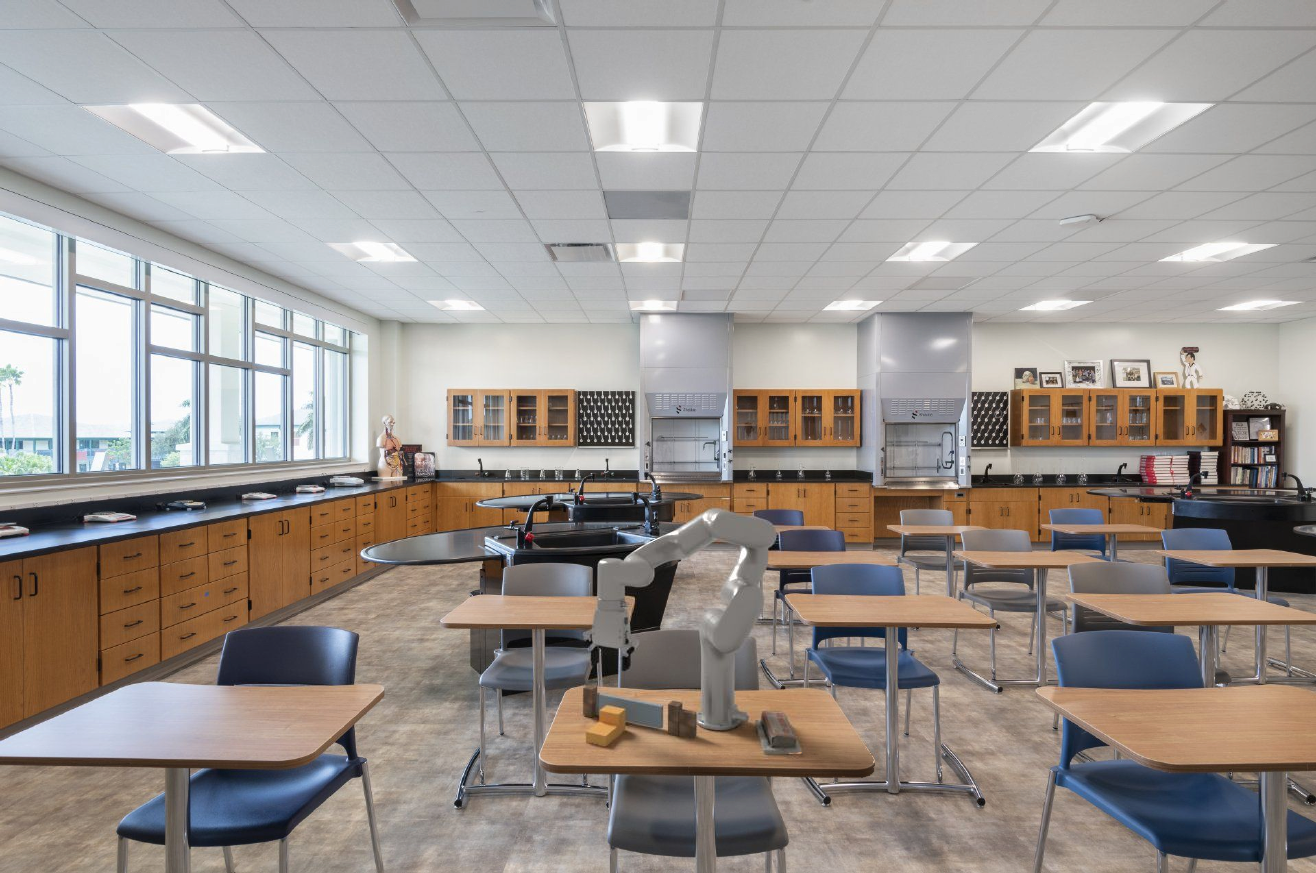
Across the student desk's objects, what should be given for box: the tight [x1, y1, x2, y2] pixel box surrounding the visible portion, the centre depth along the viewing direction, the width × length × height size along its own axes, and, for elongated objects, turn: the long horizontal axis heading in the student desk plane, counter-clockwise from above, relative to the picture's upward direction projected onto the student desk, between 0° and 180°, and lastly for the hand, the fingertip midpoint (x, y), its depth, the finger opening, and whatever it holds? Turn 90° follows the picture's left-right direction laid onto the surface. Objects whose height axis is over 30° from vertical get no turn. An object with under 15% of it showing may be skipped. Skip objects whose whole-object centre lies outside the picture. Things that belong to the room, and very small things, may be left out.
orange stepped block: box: [585, 705, 626, 747], centre depth 171 cm, size 11×6×6 cm, turn 155°
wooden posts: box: [582, 684, 698, 739], centre depth 178 cm, size 35×3×8 cm, turn 64°
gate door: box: [595, 692, 664, 729], centre depth 179 cm, size 21×1×6 cm, turn 64°
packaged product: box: [754, 710, 803, 755], centre depth 170 cm, size 18×5×10 cm
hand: (610, 666), depth 173 cm, fingers open, 9 cm apart
